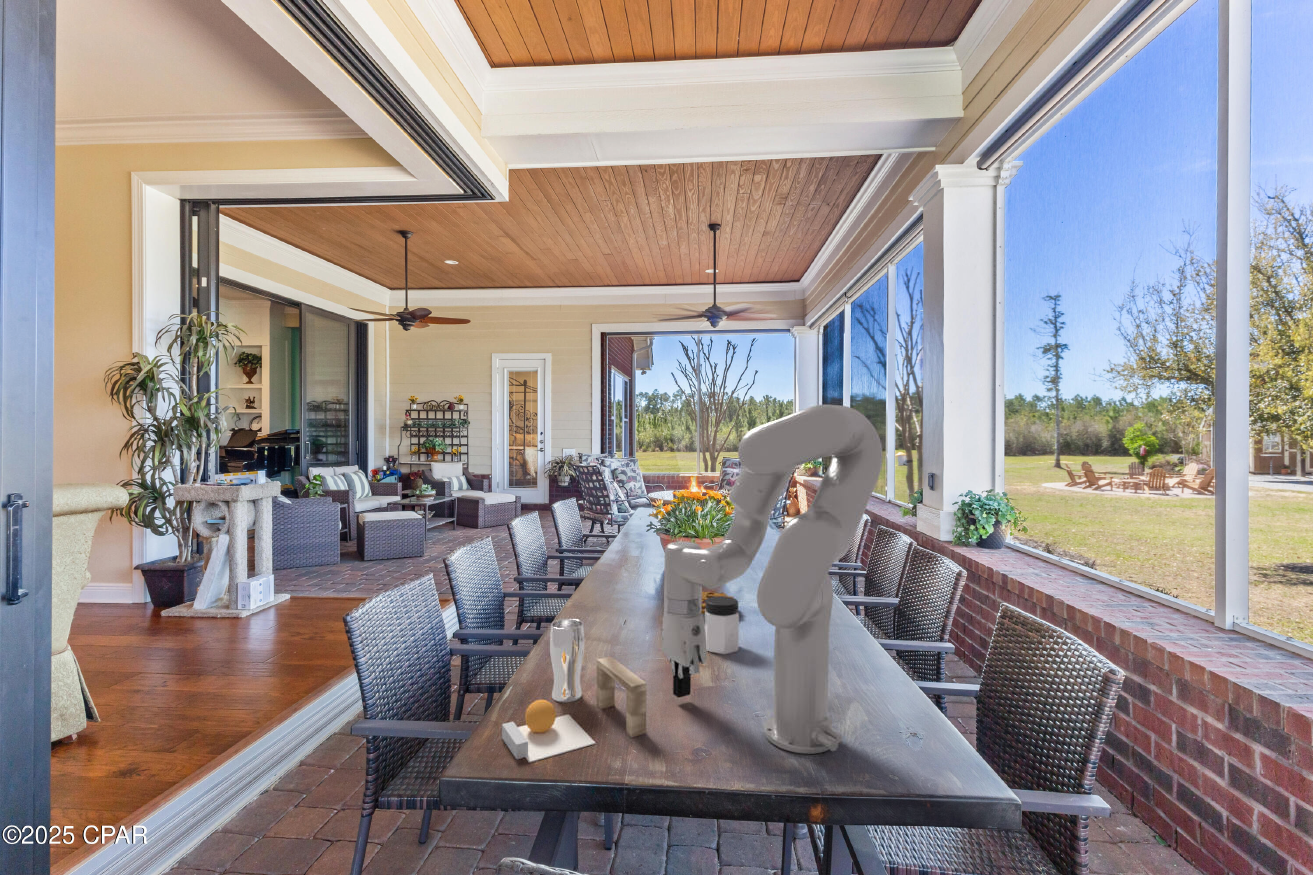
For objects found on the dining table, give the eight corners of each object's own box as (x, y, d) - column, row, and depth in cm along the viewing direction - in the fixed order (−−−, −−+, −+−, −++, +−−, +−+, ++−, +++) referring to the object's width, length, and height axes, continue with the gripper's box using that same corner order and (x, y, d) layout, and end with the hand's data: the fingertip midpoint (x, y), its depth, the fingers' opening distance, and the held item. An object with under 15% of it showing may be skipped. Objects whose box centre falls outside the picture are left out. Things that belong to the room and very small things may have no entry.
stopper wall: (528, 756, 103) (528, 741, 103) (516, 759, 102) (516, 744, 102) (513, 735, 110) (513, 721, 110) (502, 737, 109) (502, 724, 109)
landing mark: (595, 743, 107) (595, 742, 107) (529, 762, 101) (529, 761, 101) (568, 715, 118) (568, 714, 118) (506, 730, 111) (506, 729, 111)
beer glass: (568, 706, 121) (569, 631, 121) (542, 698, 125) (542, 624, 124) (590, 693, 127) (591, 621, 127) (564, 685, 131) (565, 616, 130)
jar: (717, 656, 148) (718, 607, 148) (697, 646, 155) (697, 599, 154) (745, 649, 153) (746, 601, 152) (724, 639, 160) (725, 594, 159)
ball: (535, 744, 109) (563, 727, 111) (525, 719, 107) (554, 703, 109) (527, 728, 114) (554, 712, 116) (517, 703, 112) (545, 688, 114)
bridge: (610, 701, 123) (610, 656, 123) (646, 733, 111) (646, 682, 111) (596, 704, 122) (596, 659, 122) (631, 737, 110) (631, 686, 109)
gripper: (720, 611, 119) (719, 705, 119) (678, 592, 132) (677, 677, 132) (688, 617, 115) (686, 714, 115) (647, 597, 128) (647, 684, 128)
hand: (681, 694), depth 124 cm, fingers closed
